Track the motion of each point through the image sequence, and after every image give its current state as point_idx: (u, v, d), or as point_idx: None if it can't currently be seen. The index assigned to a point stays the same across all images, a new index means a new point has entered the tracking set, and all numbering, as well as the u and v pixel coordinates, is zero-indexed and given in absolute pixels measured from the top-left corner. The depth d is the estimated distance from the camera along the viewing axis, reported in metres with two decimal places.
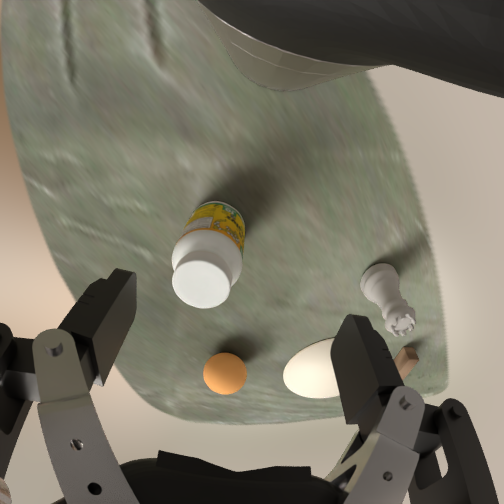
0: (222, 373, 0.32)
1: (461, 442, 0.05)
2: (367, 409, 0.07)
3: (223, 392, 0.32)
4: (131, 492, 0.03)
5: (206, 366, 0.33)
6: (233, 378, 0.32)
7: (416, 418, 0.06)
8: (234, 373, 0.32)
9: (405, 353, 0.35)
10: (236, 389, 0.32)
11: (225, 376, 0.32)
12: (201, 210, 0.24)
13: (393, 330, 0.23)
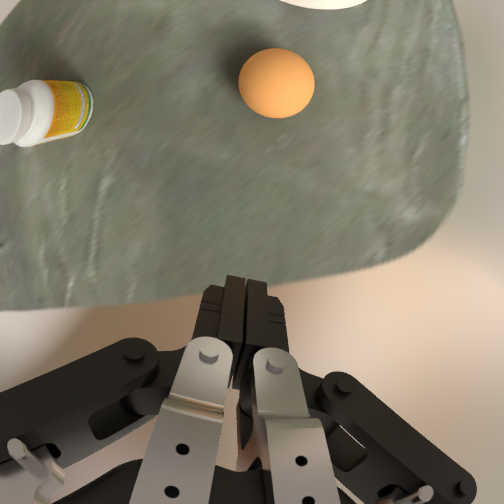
0: (246, 80, 0.17)
1: (368, 420, 0.06)
2: (244, 371, 0.08)
3: (287, 79, 0.16)
4: None
5: (252, 109, 0.19)
6: (254, 62, 0.16)
7: (278, 383, 0.07)
8: (249, 62, 0.16)
9: None
10: (284, 58, 0.16)
11: (249, 74, 0.16)
12: None
13: None
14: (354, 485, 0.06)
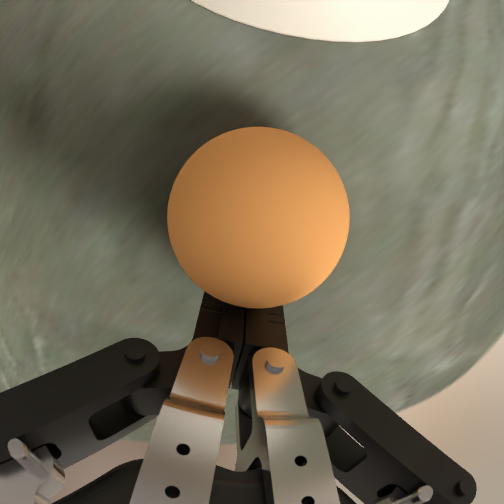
0: (179, 225, 0.07)
1: (367, 420, 0.06)
2: (243, 371, 0.08)
3: (294, 216, 0.06)
4: None
5: None
6: (198, 169, 0.07)
7: (277, 383, 0.07)
8: (185, 172, 0.07)
9: None
10: (280, 150, 0.06)
11: (186, 209, 0.07)
12: None
13: None
14: (354, 485, 0.06)
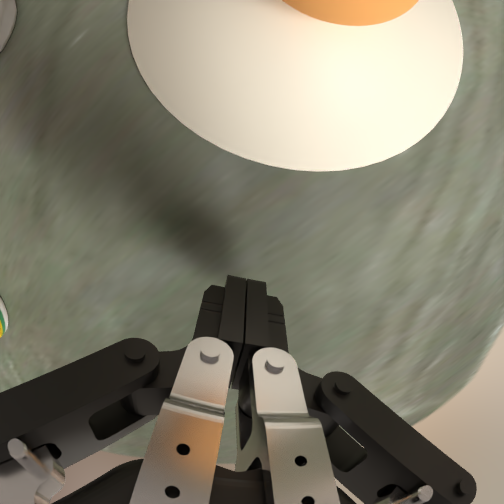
0: None
1: (367, 420, 0.06)
2: (243, 371, 0.08)
3: None
4: None
5: None
6: None
7: (277, 382, 0.07)
8: None
9: None
10: None
11: None
12: None
13: None
14: (354, 485, 0.06)
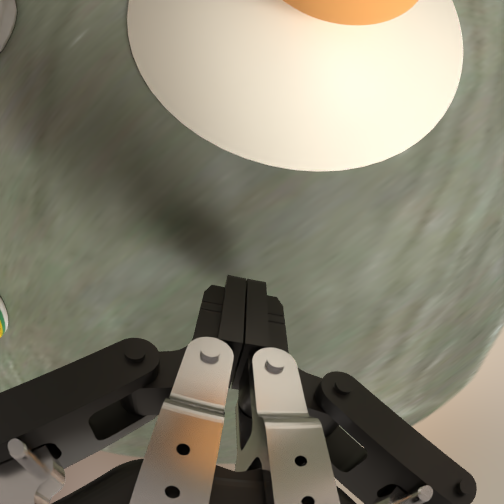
0: None
1: (367, 420, 0.06)
2: (243, 371, 0.08)
3: None
4: None
5: None
6: None
7: (277, 382, 0.07)
8: None
9: None
10: None
11: None
12: None
13: None
14: (354, 485, 0.06)
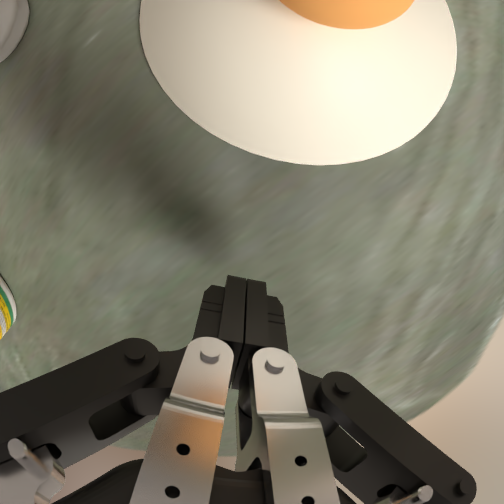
0: None
1: (367, 420, 0.06)
2: (243, 371, 0.08)
3: None
4: None
5: None
6: None
7: (277, 383, 0.07)
8: None
9: None
10: None
11: None
12: None
13: None
14: (354, 485, 0.06)
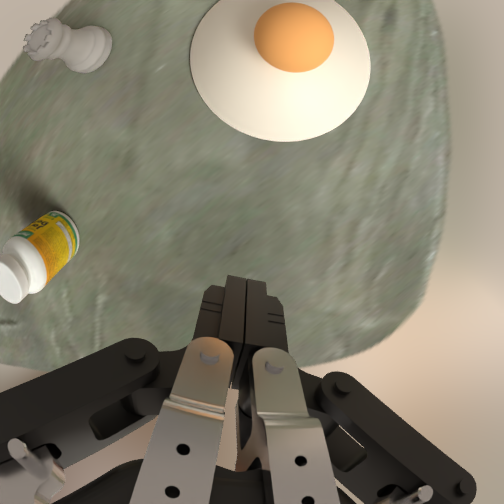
0: (261, 51, 0.16)
1: (367, 420, 0.06)
2: (243, 371, 0.08)
3: (301, 60, 0.15)
4: None
5: None
6: (266, 39, 0.14)
7: (277, 382, 0.07)
8: (261, 35, 0.14)
9: None
10: (298, 38, 0.14)
11: (263, 50, 0.15)
12: None
13: (38, 49, 0.11)
14: (354, 485, 0.06)
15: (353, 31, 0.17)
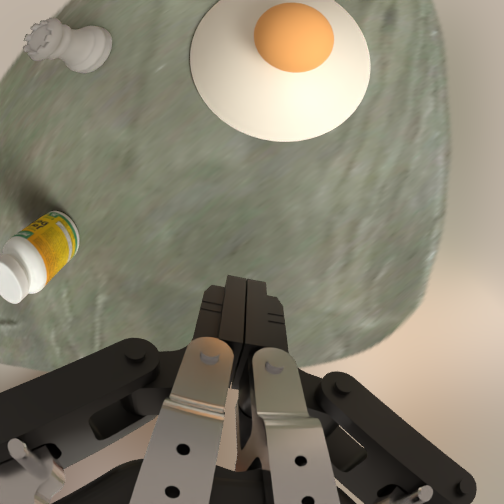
0: (260, 51, 0.16)
1: (367, 420, 0.06)
2: (243, 371, 0.08)
3: (301, 60, 0.15)
4: None
5: None
6: (266, 39, 0.14)
7: (277, 383, 0.07)
8: (261, 35, 0.14)
9: None
10: (298, 38, 0.14)
11: (263, 50, 0.15)
12: None
13: (38, 49, 0.11)
14: (354, 485, 0.06)
15: (353, 31, 0.17)
